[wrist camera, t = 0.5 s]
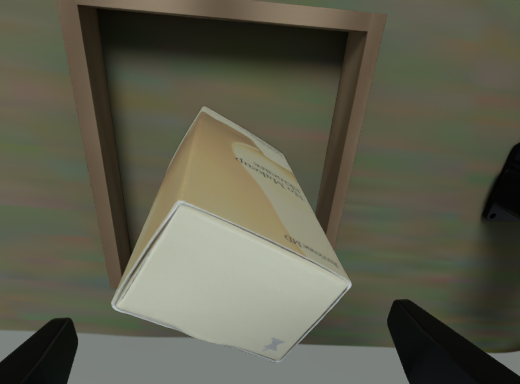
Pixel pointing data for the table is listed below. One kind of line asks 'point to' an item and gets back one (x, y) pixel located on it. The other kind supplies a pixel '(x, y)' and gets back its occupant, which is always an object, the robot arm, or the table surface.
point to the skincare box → (232, 247)
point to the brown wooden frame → (229, 9)
